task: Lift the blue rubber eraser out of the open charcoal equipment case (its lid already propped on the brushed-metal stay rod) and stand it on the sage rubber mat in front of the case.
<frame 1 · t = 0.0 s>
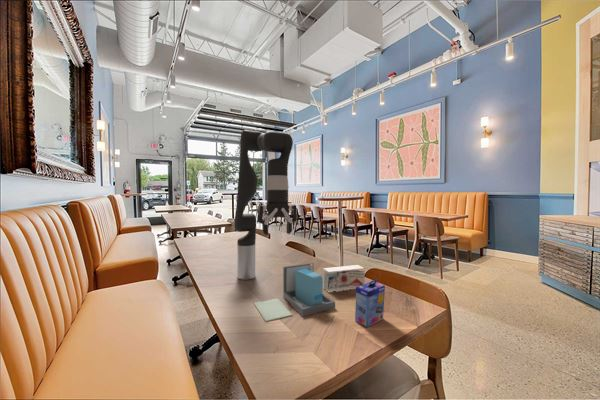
hand: (277, 234, 87), 29 cm above the table, fingers open, 8 cm apart
ink cartridge box: (369, 320, 85), on the table
white printed box: (344, 288, 114), on the table
mat: (272, 309, 92), on the table
equipment case: (308, 302, 98), on the table
blue rubber eraser: (308, 302, 98), resting on equipment case
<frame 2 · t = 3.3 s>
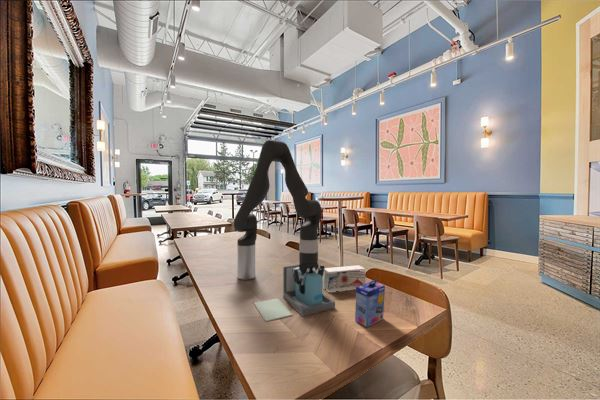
hand: (308, 292, 98), 4 cm above the table, fingers closed on blue rubber eraser, 5 cm apart
blue rubber eraser: (308, 302, 98), resting on equipment case, touching gripper
everything else where it was.
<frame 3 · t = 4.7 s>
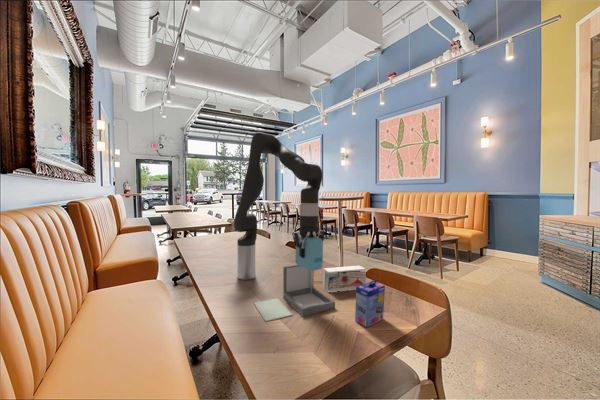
hand: (308, 256, 98), 19 cm above the table, fingers closed on blue rubber eraser, 5 cm apart
blue rubber eraser: (308, 267, 98), point 14 cm above the table, touching gripper
everything else where it was.
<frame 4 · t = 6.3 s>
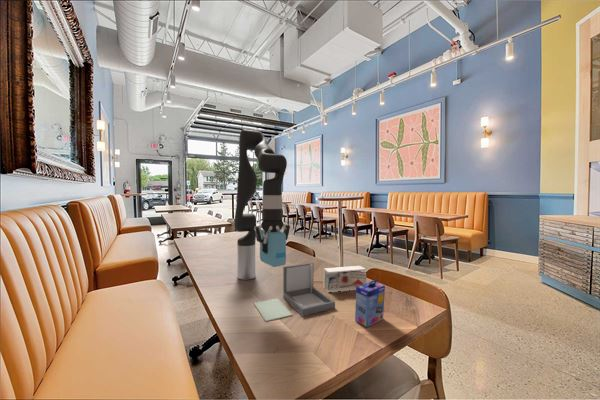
hand: (272, 252, 92), 22 cm above the table, fingers closed on blue rubber eraser, 5 cm apart
blue rubber eraser: (272, 263, 92), point 17 cm above the table, touching gripper
everything else where it was.
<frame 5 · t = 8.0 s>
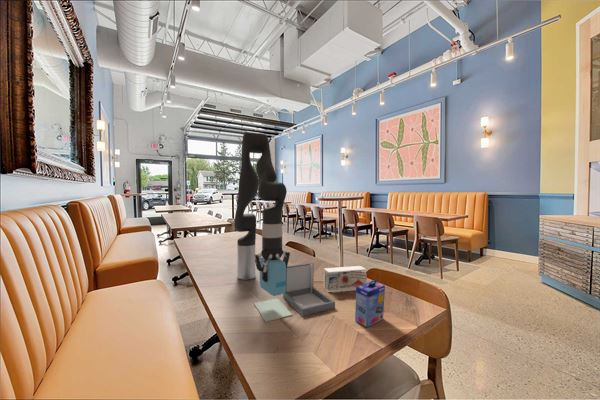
hand: (272, 280, 92), 11 cm above the table, fingers closed on blue rubber eraser, 5 cm apart
blue rubber eraser: (272, 291, 92), point 7 cm above the table, touching gripper
when the fingers open (6 cm above the table, at t = 9.6 s): blue rubber eraser drops 1 cm, resting on mat.
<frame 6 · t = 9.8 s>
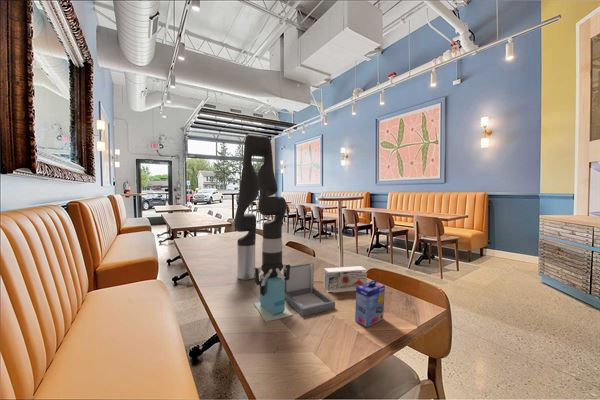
hand: (272, 293, 92), 6 cm above the table, fingers open, 6 cm apart
blue rubber eraser: (271, 308, 92), resting on mat
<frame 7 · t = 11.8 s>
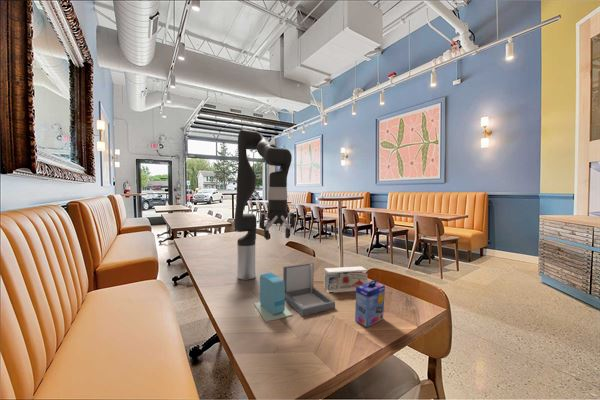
hand: (277, 238, 98), 26 cm above the table, fingers open, 8 cm apart
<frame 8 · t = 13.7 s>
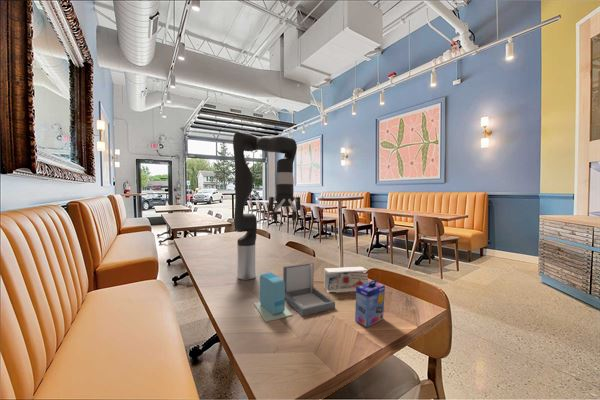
hand: (284, 220, 107), 32 cm above the table, fingers open, 8 cm apart
at the end: blue rubber eraser inside the target area on the mat (0.1 cm from its centre), point 0.2 cm above the mat's base; blue rubber eraser tilted 0°; the gripper is holding nothing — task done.
